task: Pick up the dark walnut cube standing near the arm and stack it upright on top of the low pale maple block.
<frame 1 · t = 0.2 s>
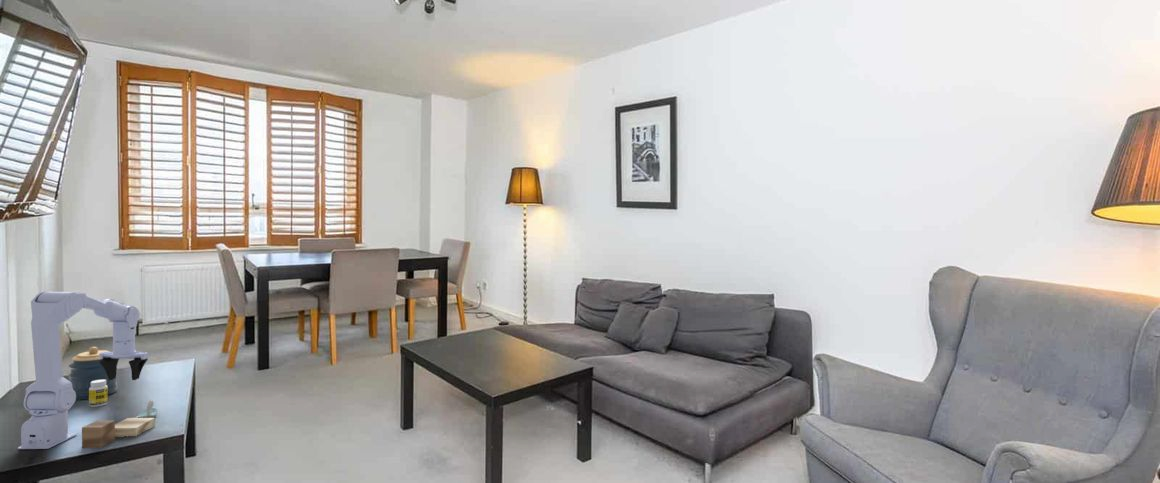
hand: (123, 379, 176), 10 cm above the table, tool pointing down, fingers open, 7 cm apart
supplement bottle: (98, 405, 179), on the table
walnut cube: (98, 444, 150), on the table
maple block: (131, 432, 159), on the table
canister: (93, 394, 189), on the table
pacifier: (144, 419, 168), on the table
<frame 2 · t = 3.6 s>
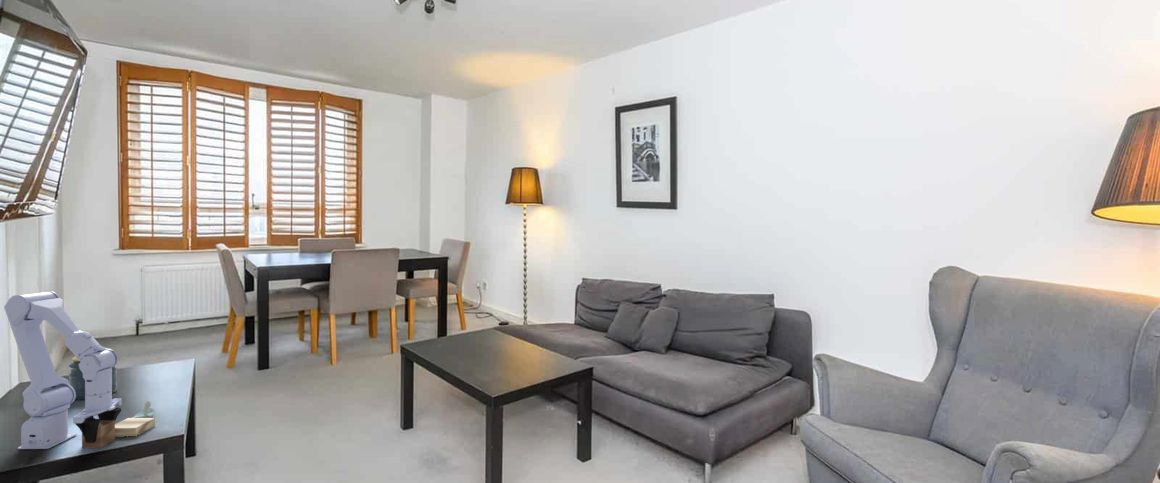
hand: (98, 438, 149), 2 cm above the table, tool pointing down, fingers closed on walnut cube, 5 cm apart
walnut cube: (98, 443, 150), on the table, touching gripper
when the fingers open (6 cm above the table, at t = 7.6 s): walnut cube drops 1 cm, point 3 cm above the table.
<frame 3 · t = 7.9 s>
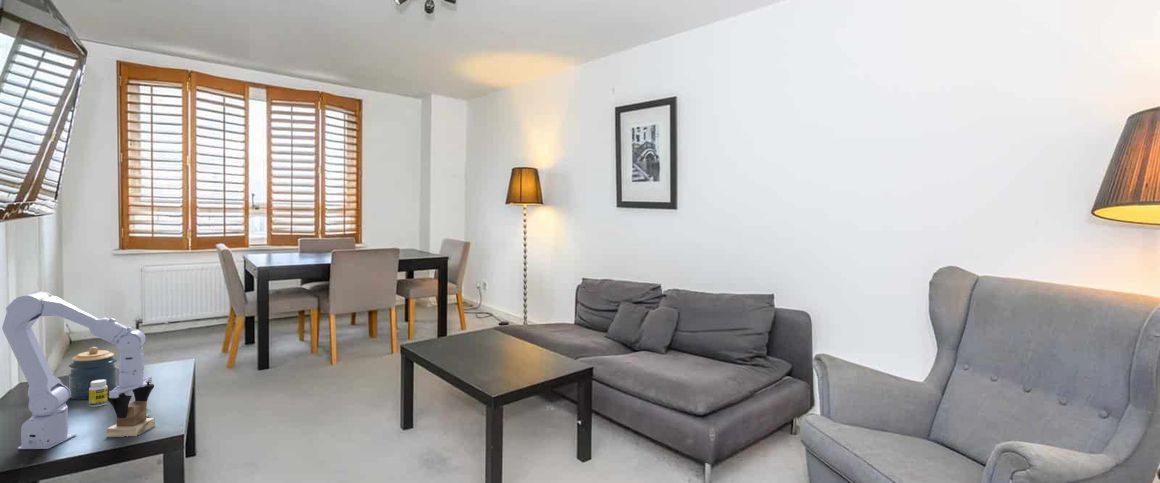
hand: (131, 413, 159), 6 cm above the table, tool pointing down, fingers open, 7 cm apart
walnut cube: (131, 422, 159), point 3 cm above the table
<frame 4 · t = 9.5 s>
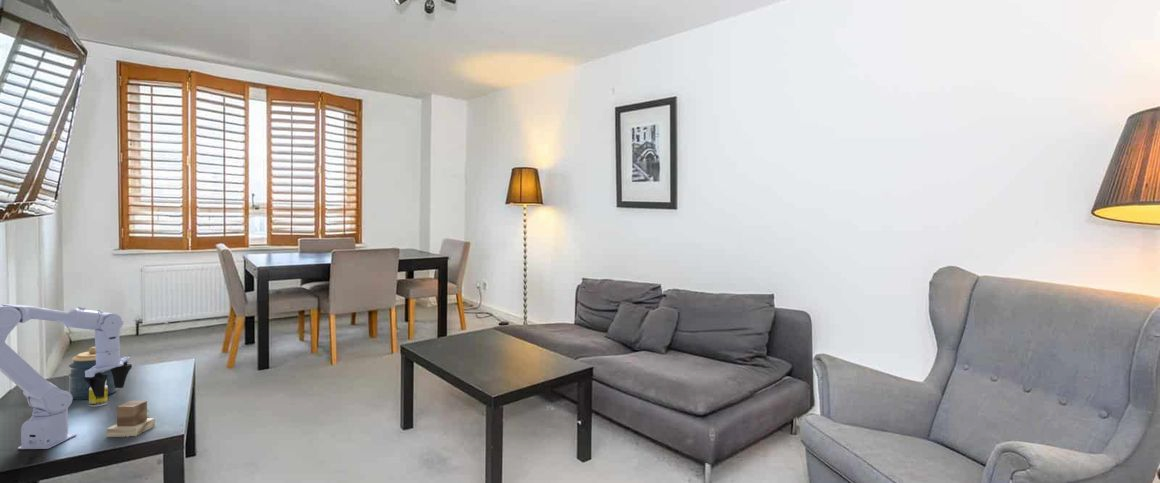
hand: (109, 391, 163), 10 cm above the table, tool pointing down, fingers open, 7 cm apart
walnut cube: (132, 422, 159), point 3 cm above the table, touching maple block
maple block: (131, 432, 159), on the table, touching walnut cube
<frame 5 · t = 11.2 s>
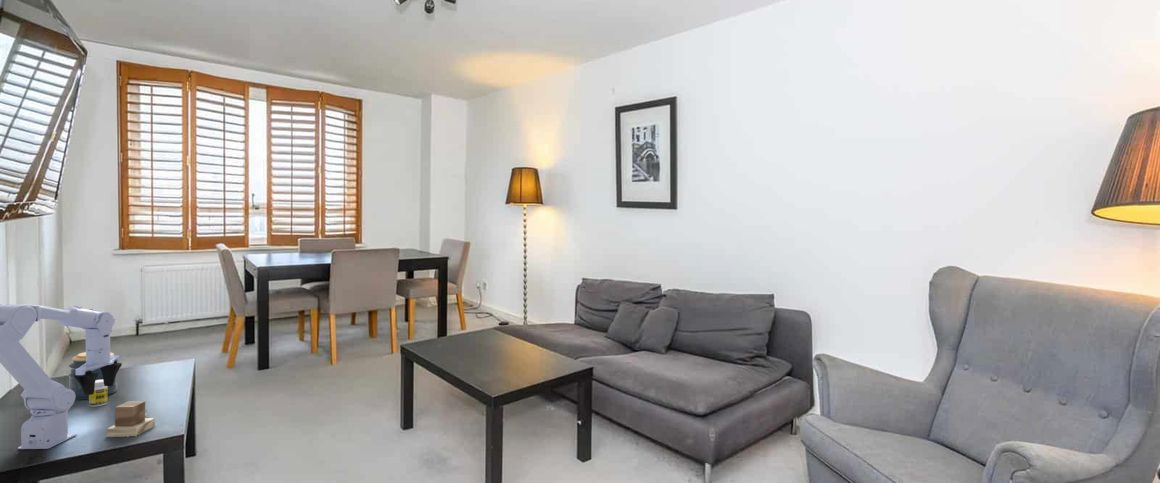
hand: (99, 390, 164), 10 cm above the table, tool pointing down, fingers open, 7 cm apart
at the end: walnut cube touching maple block; walnut cube 0.3 cm from the maple block (horizontally); walnut cube tilted 1° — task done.
